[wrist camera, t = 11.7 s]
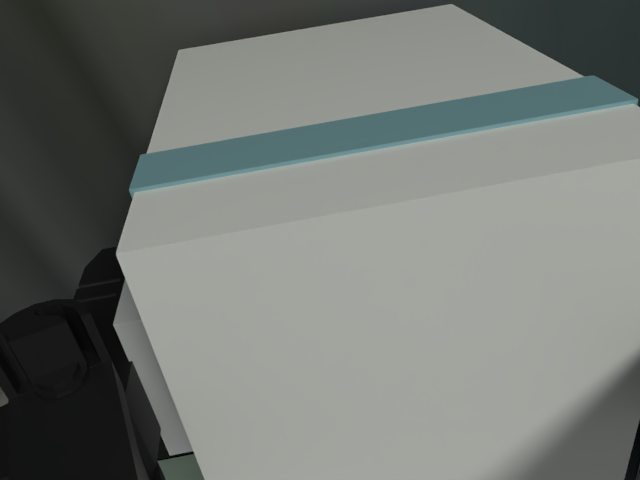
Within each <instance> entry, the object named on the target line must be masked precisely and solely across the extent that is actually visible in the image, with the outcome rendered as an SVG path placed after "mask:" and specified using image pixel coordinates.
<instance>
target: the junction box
mask: <svg viewBox="0 0 640 480" xmlns="http://www.w3.org/2000/svg"><path fill="white" fill-rule="evenodd" d="M635 479H636V480H640V463H639V467H638V471H637V474H636V478H635Z"/></svg>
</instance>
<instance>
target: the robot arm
mask: <svg viewBox="0 0 640 480" xmlns="http://www.w3.org/2000/svg"><path fill="white" fill-rule="evenodd" d="M117 248H118V247H113V248H107V249H102V250H101V251H100V252H99V253H98V254H97V256H96V257H95V258H94V259H93V260H92V261H91V262H90V263H89V264H88V265H87V266H86V267H85V269H84V272H83V275H82V277H81V280H80V283H79V289H77V290H76V293H75V296H74V298H73V300H72V299H54V300H50V301H46V302H42V303H38V304H34V305H32V306H30V307H28V308H25V309H23V310H21V311H19V312H17V313H15V314H13V315H12V316H10V317H9V318H7V319H6V320H5V321H3V322H2V323H0V387H1V389H2V390H3V392H4V393H5V395H6V397H7V398H8V403H7V404H5V405H3V406H1V407H0V480H165V477H164V474H163V472H162V470H161V468H160V466H159V463H158V461H157V457H158V449H159V441H160V434H161V437H162V439H163V441H164V444H165V446H166V448H167V450H168V453H169V455H170V456H171V455H176V454H181V453H186V452H191V451H193V449H192V446H191V444H190V441H189V439H188V436H187V434H186V431H185V429H184V426H183V424H182V421H181V419H180V416H179V413H178V411H177V408H176V406H175V403H174V401H173V398H172V396H171V393H170V391H169V388H168V386H167V383H166V380H165V378H164V375H163V373H162V370H161V368H160V365H159V363H158V360H157V358H156V355H155V353H154V350H153V348H152V345H151V342H150V340H149V337H148V335H147V332H146V330H145V327H144V325H143V322H142V320H141V317H140V315H139V312H138V309H137V307H136V304H135V302H134V299H133V297H132V294H131V292H130V289H129V287H128V284H127V282H126V279H125V276H124V274H123V271H122V269H121V266H120V264H119V261H118V259H117V256H116V251H117Z"/></svg>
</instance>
